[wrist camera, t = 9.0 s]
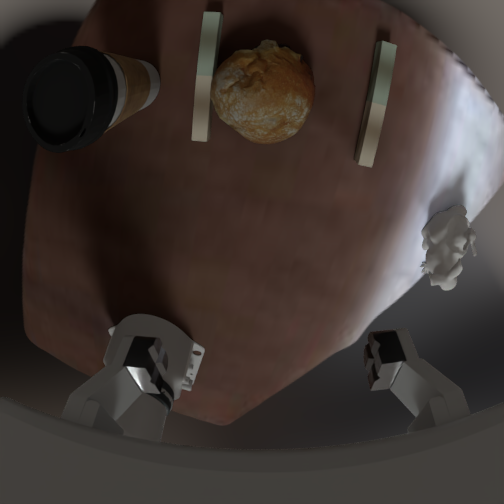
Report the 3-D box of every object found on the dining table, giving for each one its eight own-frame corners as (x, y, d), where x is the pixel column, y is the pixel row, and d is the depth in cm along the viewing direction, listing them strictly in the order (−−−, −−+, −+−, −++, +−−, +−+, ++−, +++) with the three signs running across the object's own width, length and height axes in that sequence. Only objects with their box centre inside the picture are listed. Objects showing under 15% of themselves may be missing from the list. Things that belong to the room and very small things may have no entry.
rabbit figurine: (425, 274, 39) (450, 320, 31) (389, 259, 38) (412, 307, 30) (469, 209, 33) (507, 247, 25) (434, 185, 32) (474, 222, 24)
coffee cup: (138, 134, 31) (62, 181, 18) (92, 91, 28) (2, 117, 15) (187, 80, 27) (123, 89, 15) (136, 36, 24) (50, 25, 12)
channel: (366, 162, 31) (371, 167, 30) (196, 136, 31) (191, 140, 29) (389, 46, 23) (396, 45, 22) (208, 15, 23) (203, 11, 22)
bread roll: (215, 86, 30) (180, 122, 27) (256, 17, 22) (221, 39, 18) (286, 132, 33) (265, 175, 29) (341, 74, 24) (330, 110, 21)
